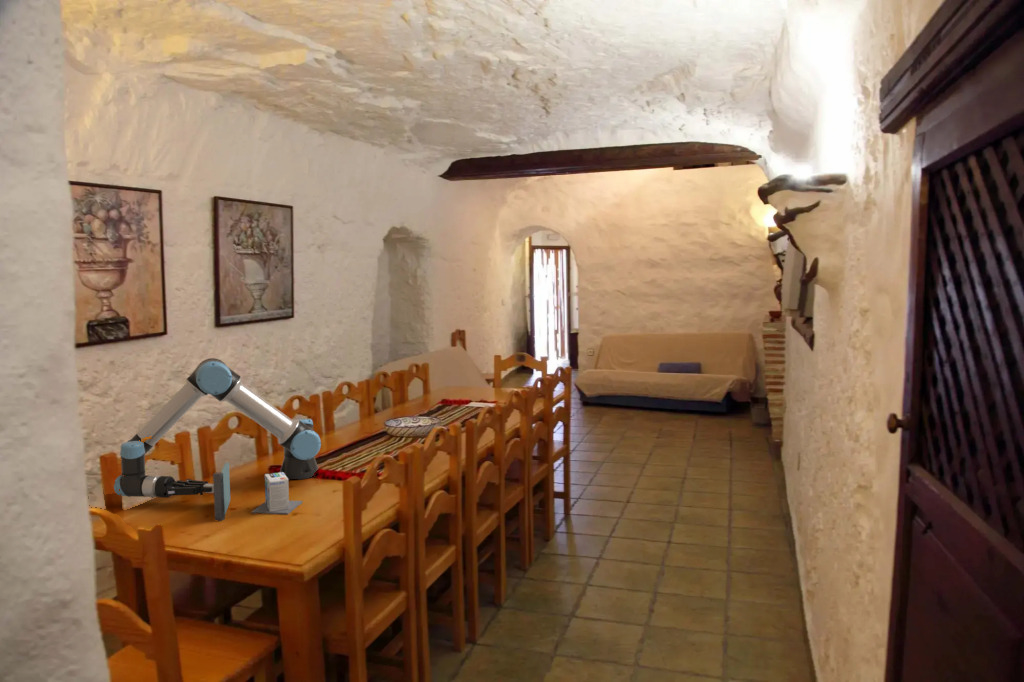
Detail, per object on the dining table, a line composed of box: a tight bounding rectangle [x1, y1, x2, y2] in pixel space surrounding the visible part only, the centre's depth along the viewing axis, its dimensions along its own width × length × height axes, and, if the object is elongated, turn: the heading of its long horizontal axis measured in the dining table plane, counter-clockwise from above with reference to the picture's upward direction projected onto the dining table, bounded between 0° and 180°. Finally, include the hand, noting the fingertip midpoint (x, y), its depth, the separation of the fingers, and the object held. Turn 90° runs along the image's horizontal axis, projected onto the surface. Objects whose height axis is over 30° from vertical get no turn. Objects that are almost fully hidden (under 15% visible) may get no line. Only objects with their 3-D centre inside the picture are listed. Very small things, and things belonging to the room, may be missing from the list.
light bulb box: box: [264, 471, 290, 512], centre depth 252 cm, size 11×7×11 cm, turn 28°
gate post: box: [212, 471, 226, 522], centre depth 239 cm, size 2×2×16 cm
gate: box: [221, 462, 231, 515], centre depth 250 cm, size 18×1×14 cm, turn 15°
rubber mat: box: [251, 500, 304, 516], centre depth 252 cm, size 13×13×1 cm
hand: (222, 488), depth 252 cm, fingers closed
